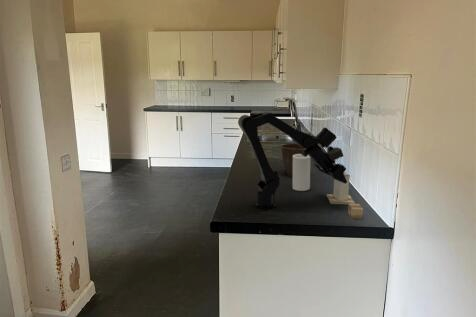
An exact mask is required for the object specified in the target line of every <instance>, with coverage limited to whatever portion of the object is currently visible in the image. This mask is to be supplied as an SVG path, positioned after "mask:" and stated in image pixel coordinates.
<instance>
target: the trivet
mask: <svg viewBox="0 0 476 317" xmlns="http://www.w3.org/2000/svg"><path fill="white" fill-rule="evenodd" d="M326 197H327V199H328V201H329V204H330V205H331V204H332V205H349V204H356V202H355V201H354V199H353V198H352V197H351V195H350V194H348V200H340V201H339V200H338V199H336V198H335V197H333V193H332V194H330V193H329V194H328V193H327V194H326Z"/></svg>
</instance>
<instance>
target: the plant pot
mask: <svg viewBox="0 0 476 317" xmlns="http://www.w3.org/2000/svg"><path fill="white" fill-rule="evenodd" d="M280 148H281V154H282V160H283V165H284V169H285V173H286V175H287V176H290V177H293V155H295V154H302V149H306V148H304V147H302V146H300V145H298V144H296V143H285V144H281V146H280Z"/></svg>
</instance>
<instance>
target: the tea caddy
mask: <svg viewBox="0 0 476 317" xmlns="http://www.w3.org/2000/svg"><path fill="white" fill-rule="evenodd" d="M344 176H345V178H346V180H347V183H346V184H345V183H342V182H340V181H338V180H335V179H334V180H333V193H332V194H333V197H335V198H336V199H338V200H339V201H340V200H348V195H349V190H350V188H349V187H350V177H351V175H350V174H349V173H347V172H345V171H344Z"/></svg>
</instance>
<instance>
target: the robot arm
mask: <svg viewBox="0 0 476 317" xmlns="http://www.w3.org/2000/svg"><path fill="white" fill-rule="evenodd" d="M237 124H238V127H239V128H240V129H241V132H242V133H243V135H244V136H245V137H246V138H247V139H248V142H249V145H250V147H251V150H252V153H253V155H254V158H255V160H256V162H257V164H258V167H259V169H260V170H259V172H260V173H259V174H260V178H261V180H260V181H258V182H257V183H256V188H257V190H258V191H257V203H255V204H254V206H255V207H258V208H260V209H263V210H269V209H272V208H275V207H277V204H275V193H276V191H277V189H278V188H279V186H280V185H281V182H280V180H281V178H280V177H279V173H278V170H277V169H275V168H274V167H273V166H272V167H271V165H270V163H269V161H268V157H267V155H266V153H265V150H264V148H263V145H262V143H261V141H260V138H259V132H258V127H261V126H264V125H266V124H269V125H270V126H272V127H274V128H275V129H277V130H278V131H280V132H282V133H283V134H285V135H286V136H288V137H289V138H290V139H291V140H292V141H293V142H294V144H298V145H300V146H302V147H304V148H306V149H302V155H303V156H305V157H306V156H307V155H309V156H310V159H312V161H313V163H314V164H313V166H314V167H315V169H317V171H320V172H322V173H323V174H325V175H328V176H329V177H331V178H332V179H335V180H338V181H340V182H342V183H345V184H346V183H347V180H346V178H345V176H344V172H345V171H346V170H347V167H346V166H344V165H343V164H341V163H336V162H337V161H336V160H338V159H341V158H342V157H344V153H343V150H342V149H341V148H340V147H333V146H331V144H332V143H333V142H335V140H336V139H337V136H336V134H335V133H334V132H332V131H331V130H330V129H328V128H327V127H323V128H322V129H321V131H320V132H319V133H318V134H317V135H311V134H310V133H307V132H304V131H302V130H300V129H296V128H294V126H291V125H289V124H288V123H287V122H285V121H284V120H281V119H280V118H278V117H277V116H275V115H274V114H273V113H271V112H269V111H264V112H262V113H257V114H256V113H255V114H251V115H247V114H244V115H241V116H240V117H239V118H238V121H237ZM322 148H323V149H325V148H326V150H327V151H324V150H323V149H322ZM335 163H336V164H335Z"/></svg>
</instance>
